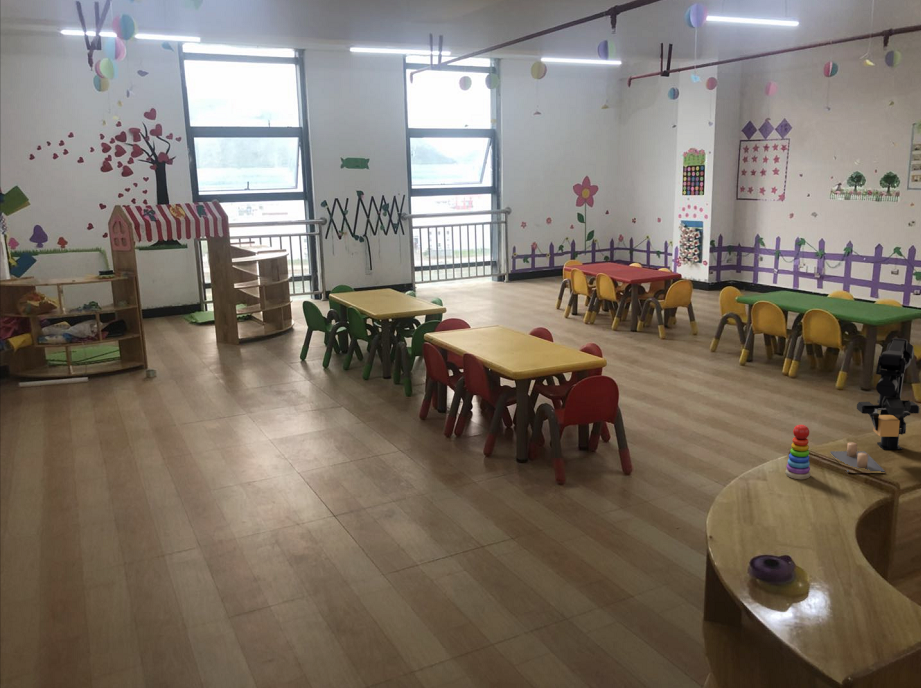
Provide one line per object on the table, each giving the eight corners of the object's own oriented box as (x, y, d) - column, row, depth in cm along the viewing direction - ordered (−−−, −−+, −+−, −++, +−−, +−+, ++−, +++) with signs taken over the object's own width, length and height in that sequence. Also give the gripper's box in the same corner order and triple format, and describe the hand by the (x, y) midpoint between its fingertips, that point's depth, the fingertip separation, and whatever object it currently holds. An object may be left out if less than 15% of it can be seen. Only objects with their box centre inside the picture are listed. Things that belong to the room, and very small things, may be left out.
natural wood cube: (873, 430, 266) (874, 415, 265) (891, 430, 265) (892, 414, 264) (880, 436, 260) (881, 420, 259) (898, 436, 260) (899, 420, 258)
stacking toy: (786, 479, 254) (789, 428, 250) (783, 470, 262) (786, 420, 257) (811, 481, 252) (814, 429, 248) (808, 471, 259) (811, 421, 255)
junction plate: (830, 453, 273) (831, 439, 272) (864, 453, 271) (865, 439, 270) (847, 473, 256) (848, 458, 255) (884, 473, 254) (886, 458, 253)
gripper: (869, 395, 253) (866, 438, 256) (928, 395, 250) (924, 438, 254) (857, 386, 263) (854, 427, 267) (913, 385, 261) (910, 427, 264)
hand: (885, 430), depth 263 cm, fingers closed on natural wood cube, 6 cm apart
